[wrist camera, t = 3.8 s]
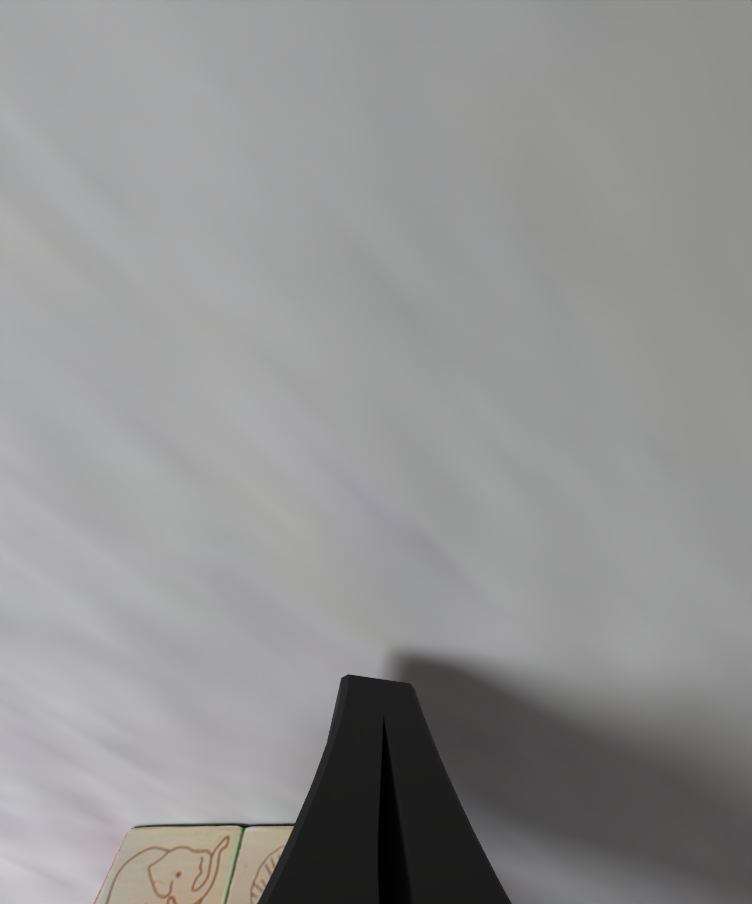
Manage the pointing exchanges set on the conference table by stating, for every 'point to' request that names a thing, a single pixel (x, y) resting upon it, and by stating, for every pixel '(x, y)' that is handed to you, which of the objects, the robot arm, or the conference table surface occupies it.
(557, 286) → the conference table surface
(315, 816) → the robot arm
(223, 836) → the stack of blocks
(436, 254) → the conference table surface
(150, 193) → the conference table surface
